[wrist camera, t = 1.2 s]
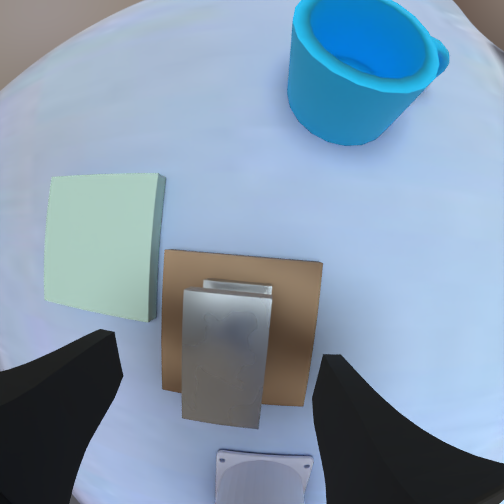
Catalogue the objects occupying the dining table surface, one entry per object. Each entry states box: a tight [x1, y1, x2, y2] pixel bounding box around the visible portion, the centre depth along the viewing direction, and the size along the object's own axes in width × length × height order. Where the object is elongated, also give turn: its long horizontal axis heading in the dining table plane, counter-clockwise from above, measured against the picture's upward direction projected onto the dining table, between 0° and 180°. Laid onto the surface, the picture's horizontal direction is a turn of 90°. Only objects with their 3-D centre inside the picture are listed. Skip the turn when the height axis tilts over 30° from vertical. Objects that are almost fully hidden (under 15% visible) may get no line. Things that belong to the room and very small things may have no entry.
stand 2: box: [161, 249, 323, 406], centre depth 19 cm, size 10×10×2 cm
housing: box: [182, 278, 272, 429], centre depth 16 cm, size 7×4×5 cm, turn 175°
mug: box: [287, 0, 449, 146], centre depth 15 cm, size 12×8×8 cm
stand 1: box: [44, 173, 166, 322], centre depth 20 cm, size 10×10×2 cm
